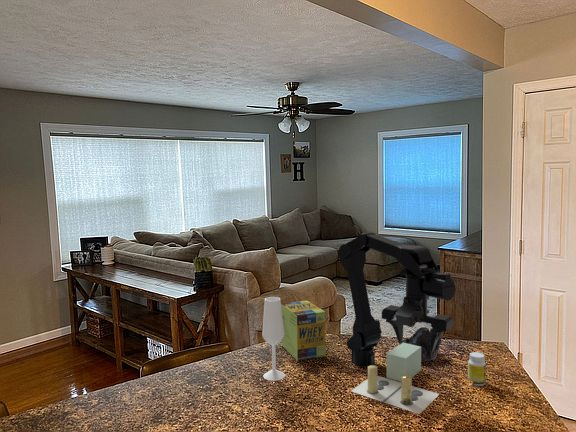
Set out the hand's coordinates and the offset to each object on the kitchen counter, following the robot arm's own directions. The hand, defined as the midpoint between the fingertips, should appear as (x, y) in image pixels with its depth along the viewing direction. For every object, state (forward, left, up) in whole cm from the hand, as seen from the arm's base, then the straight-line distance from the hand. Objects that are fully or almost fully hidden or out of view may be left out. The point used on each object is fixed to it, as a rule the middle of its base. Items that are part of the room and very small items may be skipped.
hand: (416, 347), depth 129 cm
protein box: (-43, +4, -13) cm, 45 cm away
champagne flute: (-38, -17, -13) cm, 44 cm away
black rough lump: (-10, +24, -13) cm, 29 cm away
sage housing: (-6, +6, -12) cm, 15 cm away
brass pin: (+2, -10, -11) cm, 15 cm away
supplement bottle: (+12, +15, -13) cm, 23 cm away
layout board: (-3, -7, -12) cm, 15 cm away
